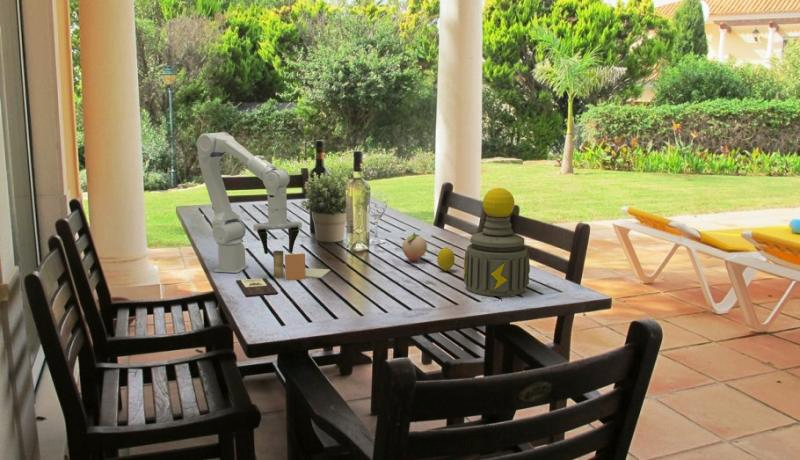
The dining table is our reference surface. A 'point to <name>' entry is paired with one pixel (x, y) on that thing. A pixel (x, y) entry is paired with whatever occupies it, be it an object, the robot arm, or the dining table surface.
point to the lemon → (445, 258)
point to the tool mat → (316, 272)
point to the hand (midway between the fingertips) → (278, 252)
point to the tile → (295, 266)
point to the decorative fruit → (414, 247)
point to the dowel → (278, 264)
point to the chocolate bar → (256, 287)
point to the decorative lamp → (497, 252)
